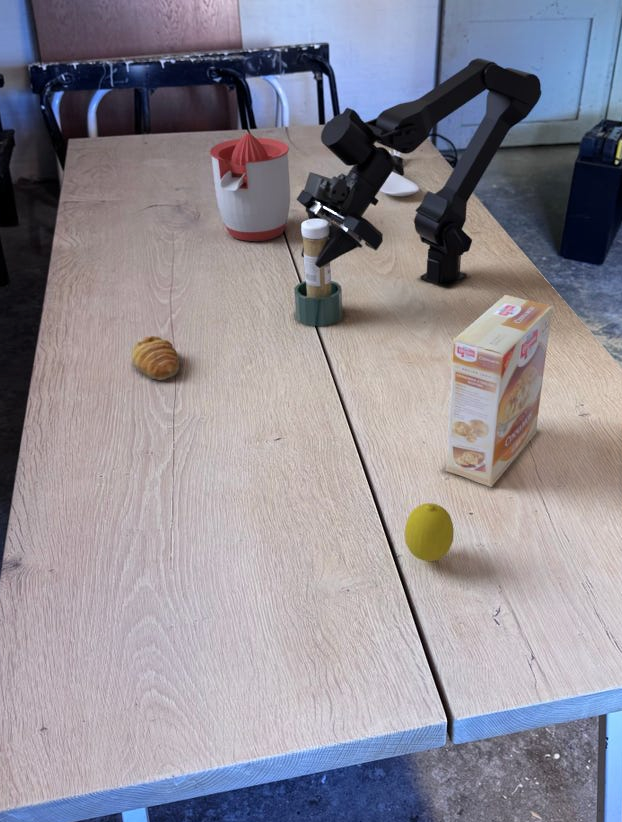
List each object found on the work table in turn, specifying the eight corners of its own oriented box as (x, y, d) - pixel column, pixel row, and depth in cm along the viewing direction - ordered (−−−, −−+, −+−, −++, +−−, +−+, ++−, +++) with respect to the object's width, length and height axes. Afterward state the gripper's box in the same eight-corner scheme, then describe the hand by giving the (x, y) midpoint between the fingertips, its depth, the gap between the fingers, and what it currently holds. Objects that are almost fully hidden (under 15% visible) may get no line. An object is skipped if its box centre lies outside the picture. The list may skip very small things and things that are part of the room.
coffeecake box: (492, 488, 112) (505, 354, 100) (443, 471, 115) (450, 339, 104) (538, 433, 122) (555, 304, 111) (492, 418, 125) (503, 292, 114)
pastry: (190, 375, 136) (187, 353, 134) (149, 387, 133) (145, 365, 131) (169, 350, 142) (165, 329, 140) (129, 362, 140) (124, 340, 137)
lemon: (401, 545, 104) (402, 491, 99) (447, 542, 104) (451, 489, 99) (407, 577, 99) (408, 523, 95) (455, 573, 100) (459, 519, 95)
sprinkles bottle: (337, 300, 150) (334, 223, 142) (314, 307, 148) (310, 230, 140) (323, 290, 153) (319, 215, 145) (301, 297, 151) (295, 221, 143)
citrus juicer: (200, 243, 179) (187, 142, 166) (241, 214, 191) (232, 119, 179) (269, 254, 174) (260, 151, 162) (306, 224, 187) (301, 126, 174)
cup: (317, 301, 157) (316, 275, 154) (351, 313, 152) (350, 287, 149) (286, 317, 152) (284, 290, 149) (321, 330, 148) (319, 303, 145)
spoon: (400, 159, 222) (400, 144, 220) (422, 202, 197) (422, 186, 194) (365, 160, 221) (365, 146, 219) (382, 204, 196) (382, 189, 194)
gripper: (302, 138, 144) (250, 219, 146) (365, 168, 131) (306, 255, 133) (344, 177, 152) (294, 253, 154) (407, 208, 139) (351, 290, 141)
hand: (310, 261), depth 145 cm, fingers closed on sprinkles bottle, 4 cm apart
